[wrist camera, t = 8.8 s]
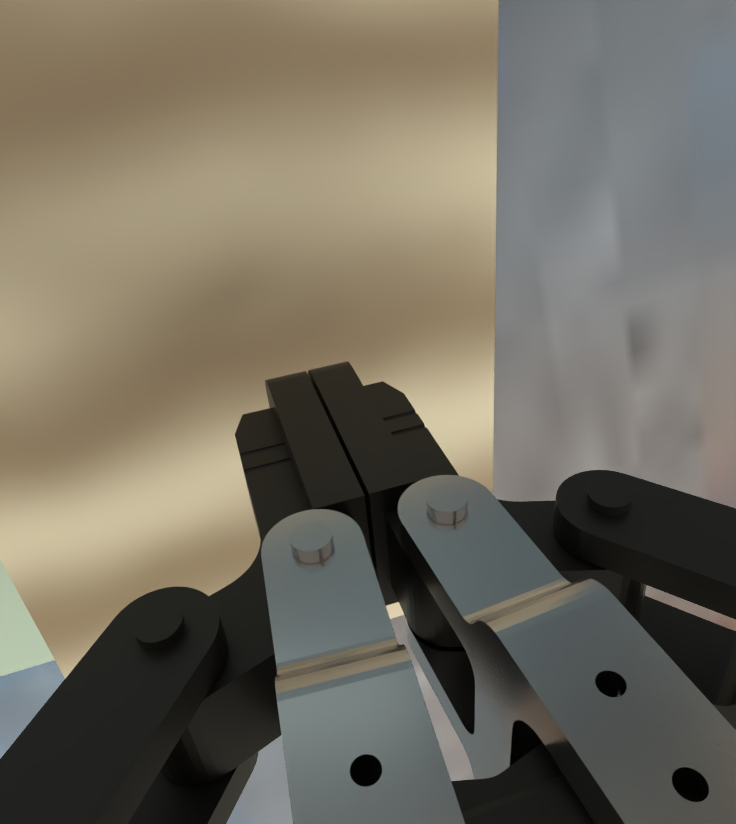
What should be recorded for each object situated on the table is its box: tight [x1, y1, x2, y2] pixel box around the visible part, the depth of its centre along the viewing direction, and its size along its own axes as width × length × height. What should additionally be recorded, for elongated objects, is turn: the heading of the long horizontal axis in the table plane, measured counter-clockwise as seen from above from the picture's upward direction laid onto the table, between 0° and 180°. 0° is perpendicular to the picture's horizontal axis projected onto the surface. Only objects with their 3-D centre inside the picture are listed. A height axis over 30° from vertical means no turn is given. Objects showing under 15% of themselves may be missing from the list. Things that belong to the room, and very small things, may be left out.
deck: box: [0, 0, 499, 679], centre depth 19 cm, size 22×14×4 cm, turn 5°
